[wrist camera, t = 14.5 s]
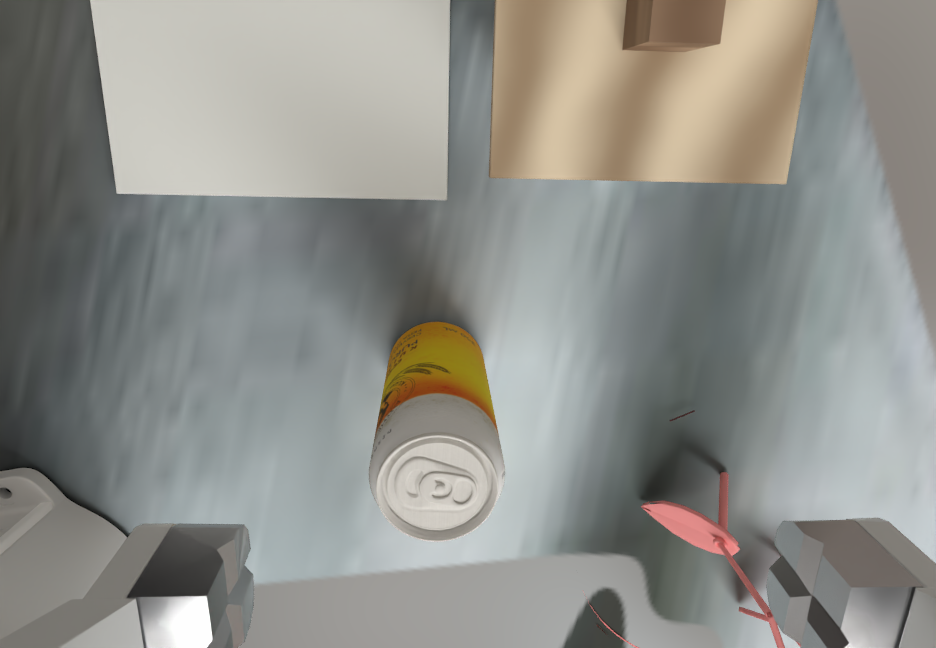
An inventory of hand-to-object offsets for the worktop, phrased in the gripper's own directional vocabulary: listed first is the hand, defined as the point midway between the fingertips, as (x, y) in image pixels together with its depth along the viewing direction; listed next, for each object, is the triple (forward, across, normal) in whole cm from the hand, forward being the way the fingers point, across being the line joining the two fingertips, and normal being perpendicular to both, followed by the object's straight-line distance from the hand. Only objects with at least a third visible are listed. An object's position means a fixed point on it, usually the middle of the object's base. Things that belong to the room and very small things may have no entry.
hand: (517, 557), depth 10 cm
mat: (+31, +10, -11) cm, 34 cm away
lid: (+25, -9, -11) cm, 29 cm away
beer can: (+31, +1, +9) cm, 33 cm away
